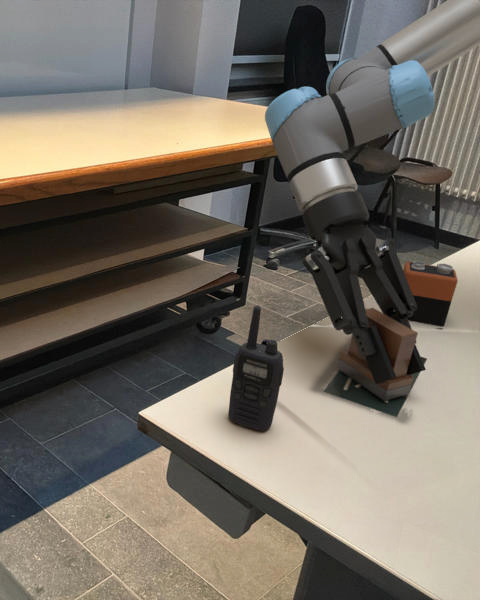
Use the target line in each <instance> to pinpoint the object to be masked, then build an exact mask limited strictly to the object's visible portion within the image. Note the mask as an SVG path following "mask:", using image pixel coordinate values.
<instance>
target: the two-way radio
mask: <svg viewBox="0 0 480 600" xmlns="http://www.w3.org/2000/svg"><path fill="white" fill-rule="evenodd" d="M261 310H262V307H261V306H260V305H255V306H253V310H252V315H251V320H250V324H249V331H248V335H247V336H248V337H247V342H244V343H243V344H241V346H240V347H239V349H238V351H237V353H236V354H235V356H234V360H233V361H234V362H233V367H232V380H231V386H230V393H229V403H228V412H227V415H228V419H229V420H230V421H231V422H233V423H235V424H238V425H240V426H243V427H247V428H249V429H251V430H252V429H253V430H255V431H258V432H259V431H260V432H265V431H268V430H269V429H270V428H271V427H272V424H273V421H274V416H275V412H276V408H277V403H278V399H279V393H280V388H281V386H282V382H283V377H284V371H285V367H284V357H283V353H282V352H281V351H279V350H278V349H279V348H278V342H277V341H276V340H274V339H267V338H265V339H263V340H262V341H261V343H259V342H258V335H259V329H260V320H261V313H262V312H261ZM257 342H258V343H257Z"/></svg>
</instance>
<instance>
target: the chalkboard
mask: <svg viewBox="0 0 480 600" xmlns="http://www.w3.org/2000/svg"><path fill="white" fill-rule="evenodd" d="M420 357H421V359H422V361H423V364H424V365H425V364H426V362H427V361H428V358H426V357H423V356H420ZM420 373H421V372H418V373H415V374H411V376H412V377H413V380H412V384H411V387H410V390H409V394H407V395H404V396H400V397H397V398H393V399H390V400H387V401H383V400H382V399H381V398H379V397H378V396H376V395H375V394H373V393H372V392H370V391H369V390H368V389H366V388H365V387H363V386H362V385H360V384H359V383H358V382H356V381H355V380H353V379H352V378H350V377H349V376H347V375H346V374H345V373H343V372H342V371H340V370H339V369H338V370H337V372H336V373H335V375H334V376H333V377H332V379H331V380H330V382H329V383H328V384H327V386H326V387H325V388H324V390H323V393H325V394H329V395H332V396H334V397H338V398H340V399H343V400H346V401H348V402H352V403H354V404H357V405H360V406H363V407H366V408H369V409H372V410H374V411H377V412H381V413H382V414H385V415H389V416H392V417H394V418H398V416H399V414H400V412H401V410H402V409H403V407H404V405H405V402H406V401H407V399H408V397H409V396H410V393H411V391H412V390H413V388H414V385H415V383H416V382H417V379H418V377H419V375H420Z"/></svg>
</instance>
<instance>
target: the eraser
mask: <svg viewBox="0 0 480 600" xmlns="http://www.w3.org/2000/svg"><path fill="white" fill-rule="evenodd" d="M365 310H366V314H367V319H368V326H367V328H369V327H371V326H375V325H376V328H377V330H378V333H379V335H380V338H381V340H382V343H383V345H384V348H385V350H386V352H387V355H388V357H389V360H390V362H391V365H392V367H393V370H394V372H395V375H396V377H397V378H394V379H391V380H388V381H385V382H382V383H379V384H376V383H375V381H374V378H373V376H372V373H371V371H370V368H369V366H368V363H367V361H366V358H365V357H362V356H361V354H360V352H359V349H358V347H357V345H356V342H355V340H354V337H353V335H352V334H351V339H350V343H349V345H348V346H349V347H348V349H347V350H343V351H340V353H339V357H338V362H337V366H336V369H337V370H338V371H339V370H340V371H342V372H343V373H345V374H346V375H347V376H349V377H350V378H352V379H353V380H355V381H356V382H358V383H359V384H360V385H362V386H363V387H365V388H366V389H368V390H369V391H370V392H372V393H373V394H375V395H376V396H378V397H379V398H381V399H382V400H383V401H387V400H390V399H393V398H397V397H400V396H404V395H407V394H409V395H410V393H409V390H410V387H411V384H412V380H413V377H412V376H411V375H409V374H407V369H408V366H409V362H410V359H411V355H412V352H413V348H414V345H416V343H415V341H416V342H417V337H418V332H417V331H416V330H414V329H413V328H412V329H410V328H408V327H406V326H404V325H403V324H401V323H399V322H397V321H396V320H394V319H392V318H390V317H388V316H387V315H385V314H383V312H382V311H379V310H378V309H376V308H374V307H369V308H365Z"/></svg>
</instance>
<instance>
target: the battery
mask: <svg viewBox="0 0 480 600" xmlns="http://www.w3.org/2000/svg"><path fill="white" fill-rule="evenodd" d="M403 266H404V267H403V271H404V274H405V276H406V279H407V281H408V284H409V286H410V289H411V292H412V294H413V297H414V299H415V302H416V304H417V310H415V311H413V315H412V316H410V317H408V321H409V322H414V323H419V324H425V325H429V326H436V327H435V329H436V330H437V329H438V330H444V328H443V327H445V324H446V322H447V318H448V314H449V311H450V309H451V305H452V301H453V298H454V294H455V291H456V288H457V284H458V282H459V281H458V277H457V272H456V270H455V269H454V266H453V265H450V264H447V263H437V265H432V264H426V263H425V262H423V261H419V260H414V261H413V262H412V261H406V262H405V263H404V265H403ZM393 311H395V310H393Z"/></svg>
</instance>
